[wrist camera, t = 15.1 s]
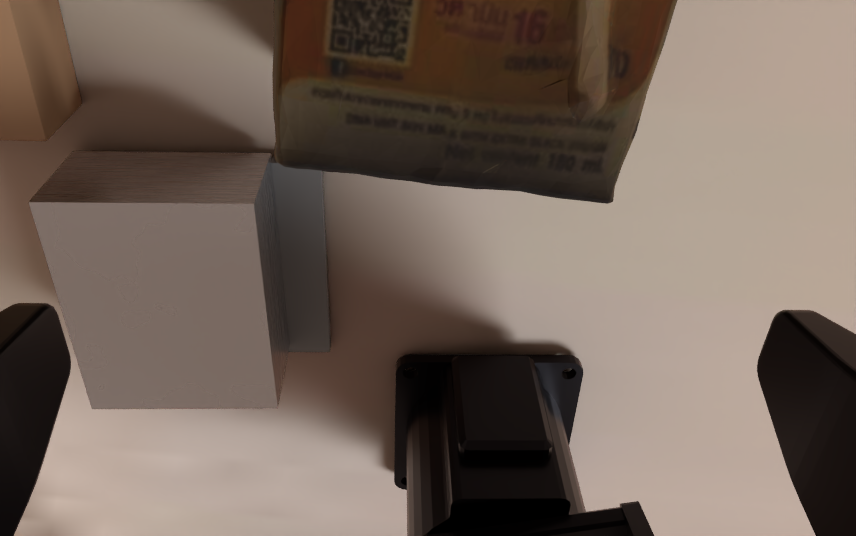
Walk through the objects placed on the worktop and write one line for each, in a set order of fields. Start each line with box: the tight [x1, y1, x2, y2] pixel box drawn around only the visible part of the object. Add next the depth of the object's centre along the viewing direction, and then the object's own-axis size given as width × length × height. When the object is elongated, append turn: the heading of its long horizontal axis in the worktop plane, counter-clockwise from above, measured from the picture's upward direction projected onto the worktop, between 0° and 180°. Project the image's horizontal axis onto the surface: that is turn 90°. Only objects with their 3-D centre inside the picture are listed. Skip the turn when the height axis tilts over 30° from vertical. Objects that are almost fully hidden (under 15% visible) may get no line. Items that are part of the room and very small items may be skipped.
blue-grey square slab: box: [271, 157, 331, 352], centre depth 23 cm, size 7×7×1 cm
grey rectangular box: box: [29, 151, 290, 409], centre depth 22 cm, size 7×6×3 cm
